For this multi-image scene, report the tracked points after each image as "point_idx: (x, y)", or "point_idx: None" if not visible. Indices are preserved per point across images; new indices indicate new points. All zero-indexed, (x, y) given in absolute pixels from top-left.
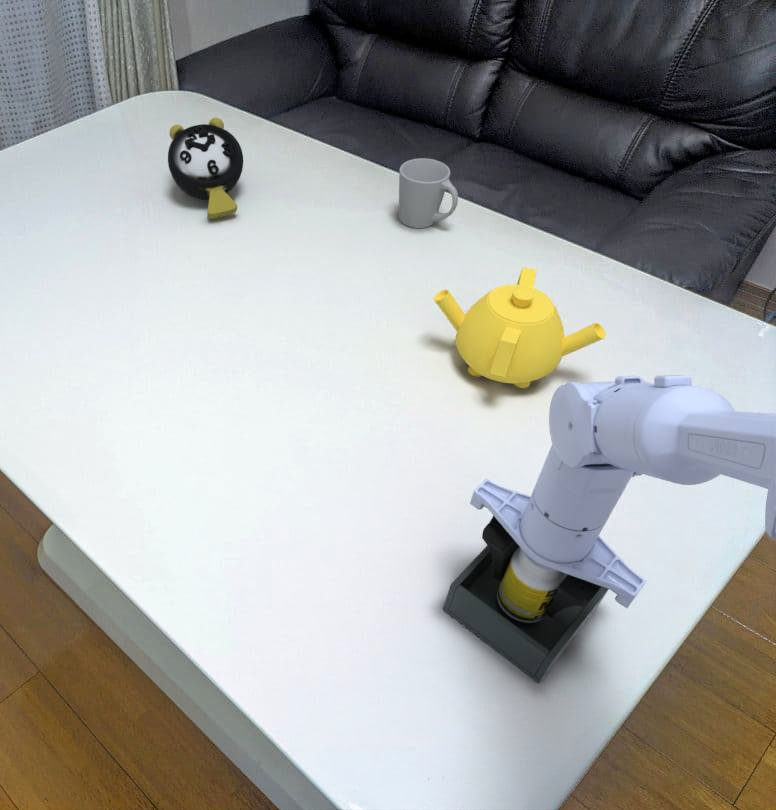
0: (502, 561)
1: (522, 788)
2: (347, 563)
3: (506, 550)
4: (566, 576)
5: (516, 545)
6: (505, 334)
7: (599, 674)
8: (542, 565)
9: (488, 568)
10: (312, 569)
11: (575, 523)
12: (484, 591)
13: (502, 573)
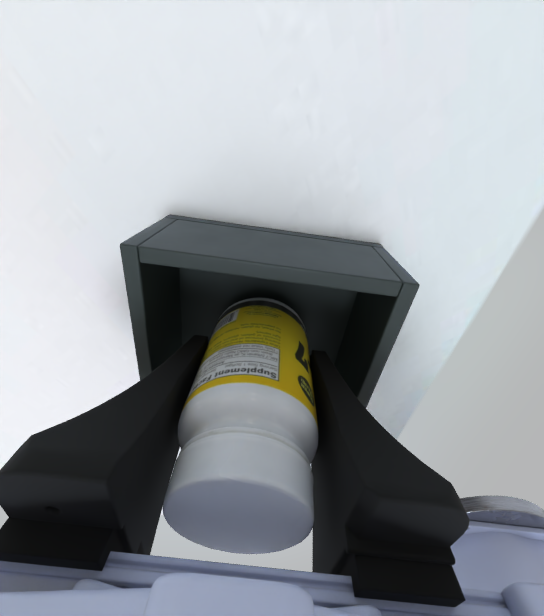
0: (175, 460)
1: None
2: (39, 382)
3: (153, 530)
4: (317, 439)
5: (169, 428)
6: None
7: (404, 344)
8: (251, 549)
9: (182, 290)
10: (23, 408)
11: None
12: (204, 331)
13: None
